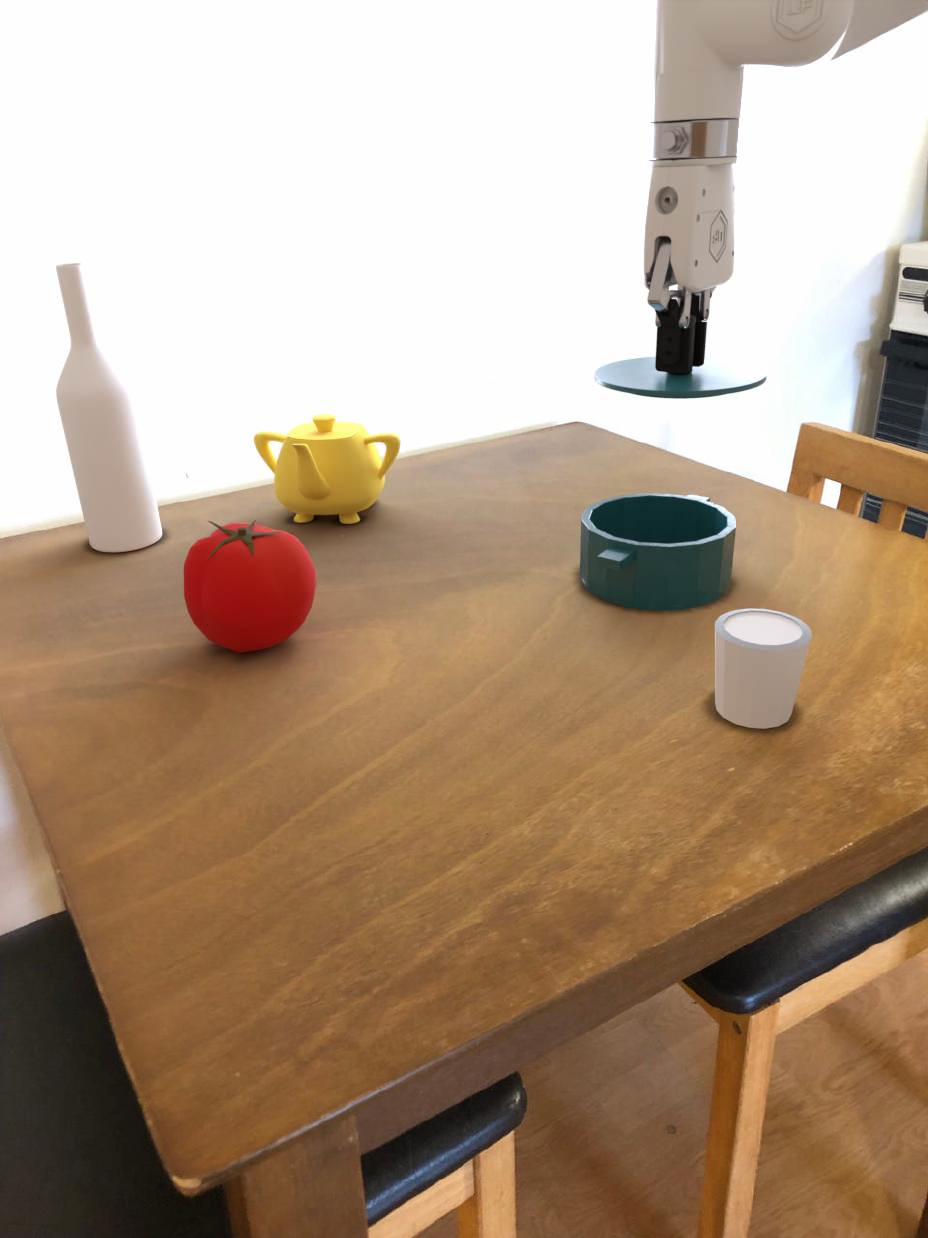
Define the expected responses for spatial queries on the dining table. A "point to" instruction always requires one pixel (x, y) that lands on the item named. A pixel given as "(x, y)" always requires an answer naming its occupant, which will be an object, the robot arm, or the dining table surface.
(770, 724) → the white cup
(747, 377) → the lid
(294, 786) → the dining table surface
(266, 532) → the tomato
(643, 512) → the pot
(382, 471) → the teapot
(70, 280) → the bottle
